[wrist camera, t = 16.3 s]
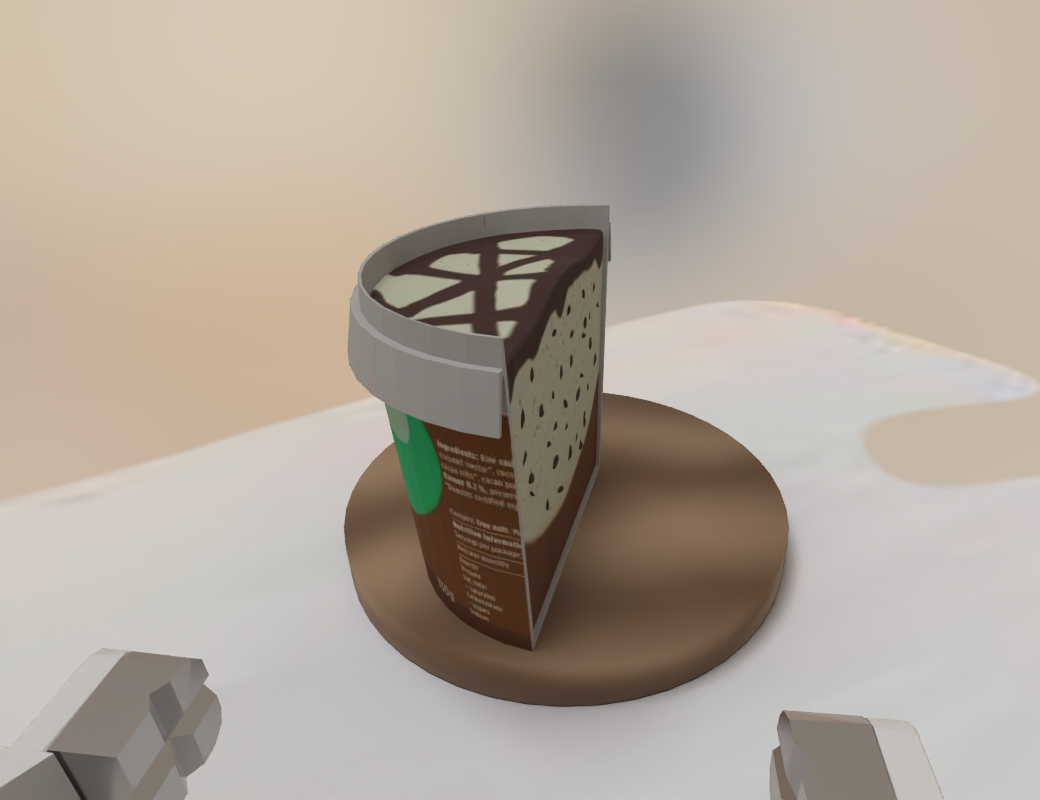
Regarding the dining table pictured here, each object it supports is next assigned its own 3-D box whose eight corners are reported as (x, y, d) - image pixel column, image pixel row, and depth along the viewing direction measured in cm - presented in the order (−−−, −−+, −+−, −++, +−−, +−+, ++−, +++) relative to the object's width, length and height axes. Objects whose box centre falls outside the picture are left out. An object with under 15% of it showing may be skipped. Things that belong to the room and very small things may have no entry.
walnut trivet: (884, 645, 21) (896, 607, 20) (349, 760, 18) (339, 721, 18) (675, 400, 35) (676, 372, 34) (352, 447, 32) (346, 417, 31)
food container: (467, 429, 30) (445, 196, 25) (607, 447, 28) (612, 200, 24) (313, 646, 20) (226, 324, 15) (516, 695, 18) (493, 348, 13)
